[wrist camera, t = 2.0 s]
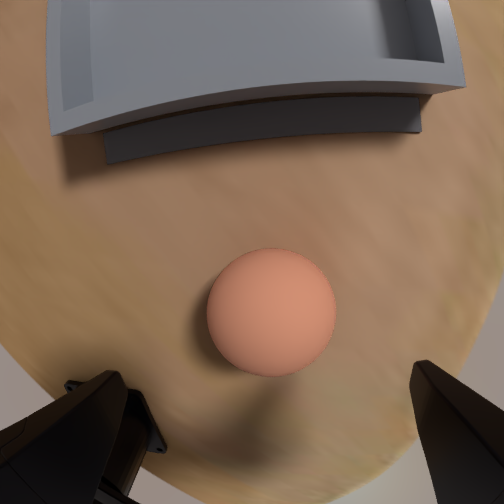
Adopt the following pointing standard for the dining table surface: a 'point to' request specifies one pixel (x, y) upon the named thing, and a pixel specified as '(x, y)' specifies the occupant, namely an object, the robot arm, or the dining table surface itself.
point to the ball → (271, 312)
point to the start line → (264, 124)
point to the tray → (237, 54)
